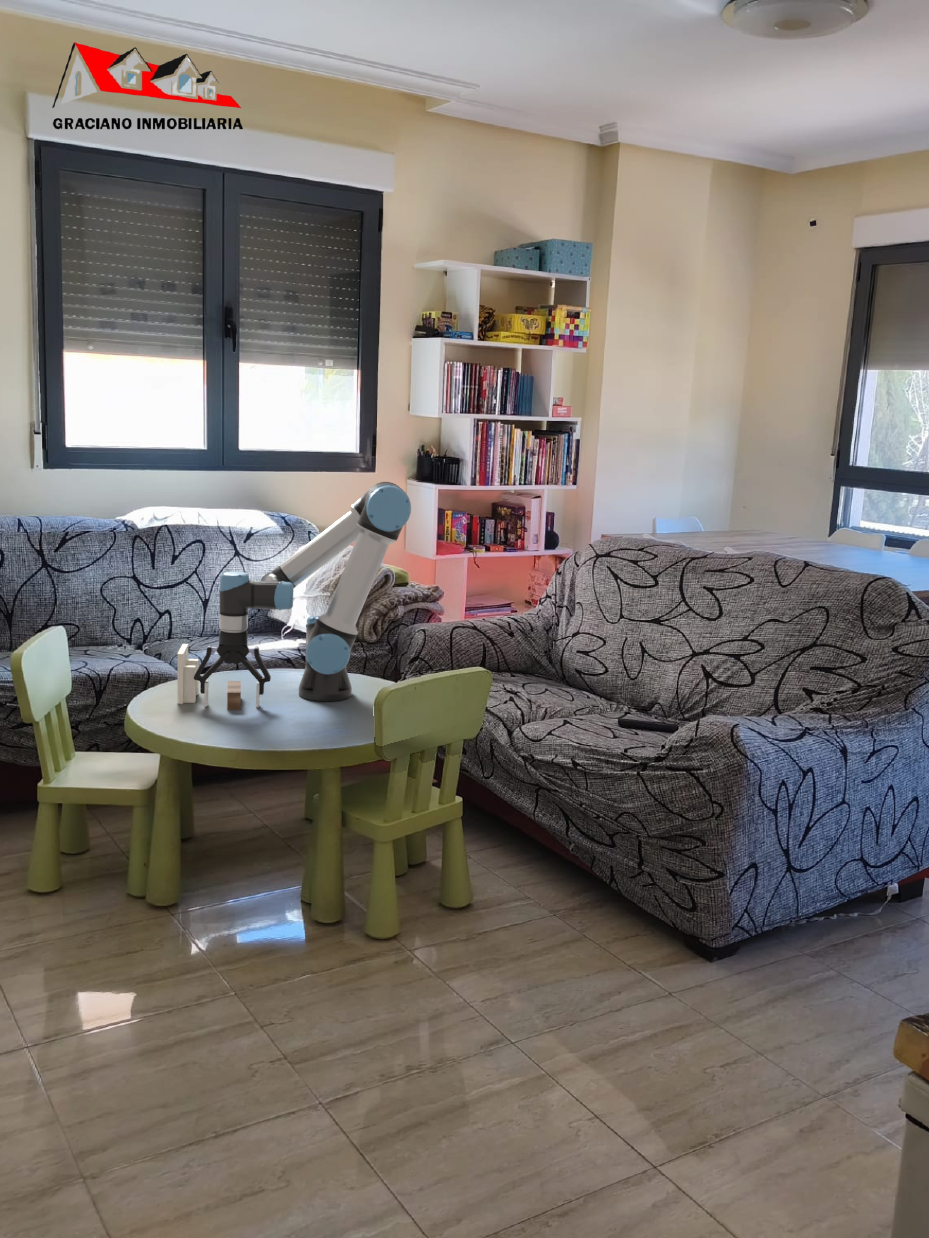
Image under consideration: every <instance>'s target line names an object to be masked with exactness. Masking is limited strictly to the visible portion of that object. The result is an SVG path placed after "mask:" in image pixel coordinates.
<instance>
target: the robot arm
mask: <svg viewBox="0 0 929 1238" xmlns="http://www.w3.org/2000/svg"><path fill="white" fill-rule="evenodd" d="M411 513H412V505H411V500H410V497H409V496H408V494H407V493H406V492H405V491H404V489H403V488H401V487H400V486H399V485H397V484H395V482H394V483H393V482H391V481H381V482H377V483H375V484H374V485H372V486H371V487H370V488H369V489H368V490H367V491H366V492H365V493H364V494H363V495H361V497H360V498H358V499H357V500H356V501H355V502H353V503H352V504H351V506H350V510H349V511H348V512H346V514H344V515H343V516H341V517H340V518H339V519H337V520H336V521H335V522H333V523H332V524H331V525H330V526H328V527H327V528H326V529H325V530H323V531H322V532H321V533H319V534H318V535H317V536H316V537H314V538H312V540H311V541H309V542H308V543H306V544H305V545H304V546H303V547H302V548H300V549H299V550H298V551H296V552H295V553H294V554H292V555H291V556H290V557H288V558H287V559H285V560H284V561H283V562H282V563H280V564H279V565H278V566H277V567H276V568H274V569H273V570H272V571H269V572H267V573H265V574H264V576H262V577H261V579H260V580H251V579H250V575H249V573H247V572H244V571H226V572H225V571H224V572H223V573H222V574H221V576H220V582H219V616H218V617H219V618H218V620H219V624H218V625H219V627H218V628H219V629H220V630H219V631H218V646H217V647H215V646H213V645H211V644H210V645H208V646H207V647H206V651H205V652H206V653H205V655H204V657H203V658H202V661H201V663H200V664H199V668H198V670H197V672H196V673H195V675H194V680H198V681H199V682H200V683H199V684H200V689H199V690H200V694H203V695H204V700H203V702H204V705H203V706H204V707H208V706H209V680H208V679H209V678H210V676H211V675H212V674H213V673H215V671H217V670H218V668H219V667H220V666H221V665H222V664H223V663H225V664H227V665H231V664H234V665H239V664H242V665H243V666H244V667H245V668H246V669H247V670H248V671H249V672H250V674H251V675H252V676H253V678H254V679H256V691H255V694H256V696H255V700H256V701H255V707H256V708H260V696H263V695H264V693H265V683H267V682H270V681H271V679H272V677H271V674H270V672H269V670H268V668H267V666H266V665H265V663H264V660H263V658H262V657H261V655H260V647H259V646H255V647H250V648H249V647H248V640H249V639H248V636H249V635H248V633H249V632H248V630H247V629H248V628H249V624H248V623H249V609H253V610H255V609H256V610H257V609H259V610H278V611H283V610H284V611H285V610H292V608H293V607H294V589H295V588H296V587H298V586H299V584H301V583H303V582H304V581H305V580H306V579H307V578H309V577H310V576H311V575H313V574H314V573H315V572H317V571H318V570H320V568H322V567H323V566H325V565H326V564H327V563H328V562H331V560H332V559H334V558H335V557H337V556H338V555H339V554H340V553H342V552H343V551H344V550H346V549H347V548H348V547H350V546H351V545H352V544H353V543H354V545H353V548H352V549H351V552H350V554H349V557H348V559H347V561H346V564H345V566H344V569H343V571H342V574H341V576H340V578H339V581H338V582H337V585H336V588H335V591H334V593H333V594H332V595H333V596H332V598H331V600H330V603H329V605H328V607H327V610H326V612H325V613H324V614H321V615H312V616H308V617H307V619H306V625H305V628H306V634H305V635H306V636H305V652H304V653H305V668H304V671H303V674H302V677H301V680H300V683H299V685H298V695H299V697H301V698H303V699H306V700H309V701H317V702H336V701H337V702H338V701H342V700H347V699H349V698H351V697H352V693H353V691H352V690H353V688H352V684H351V680H350V677H349V674H348V670H347V665H348V664H349V662H350V659H351V650H352V648H353V646H354V643H355V640H356V639H357V636H358V635H359V631H358V629H357V625H356V624H357V622H358V620H359V617H360V614H361V613H362V610H363V607H364V604H365V603H366V600H367V598H368V595H369V593H370V592H371V591H370V590H371V589H372V586H373V584H374V583H375V582H374V581H375V579H376V577H377V575H378V572H379V570H380V567H381V565H382V563H383V560H384V558H385V556H386V553H387V551H388V549H389V546H390V545H391V544H393V543H395V542H398V539H399V537H400V534H401V532H402V529H403V527H404V526H405V525H406V524H407V522H408V521H409V519H410V516H411ZM215 653H217V654H218V655H219V657H218V659H217V660H216V661H215V662H214V664H212V665H211V666H210V668H208V670H207V671H206V672H205V673H204V674H203V675H201V674H202V672H203V671H204V669H205V667H206V665H207V664H208V662H209V660H210V658H211V656H214V655H215ZM249 653H250V654H251V656H253V657H254V658H255V661H256V663H257V665H258V667H259V669H260V671H261V673H262V674H261V673H260V672H259V671H258V670H257V668H255V667H254V665H253V663H252V662H250V660H249V659H248V657H247V656H248V655H249ZM262 675H263V676H262Z"/></svg>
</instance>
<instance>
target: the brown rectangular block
mask: <svg viewBox="0 0 929 1238" xmlns="http://www.w3.org/2000/svg"><path fill="white" fill-rule="evenodd" d="M241 683H242V682H241V680H235V681H234V680H227V693H226V695H227V705H226V710H227V711H240V710H241V702H242V699H241V698H242V697H241V695H242V693H241V692H242V690H241V689H242V688H241V687H242V686H241V685H242V684H241Z"/></svg>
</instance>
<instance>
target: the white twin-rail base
mask: <svg viewBox="0 0 929 1238" xmlns="http://www.w3.org/2000/svg"><path fill="white" fill-rule="evenodd" d="M199 663H200V662H199V658H189V643H182V645H181V646H180V648H179V650H178V651H177V704H178V705H183V704H184V703H185V704H186V703H188V704H190V703H191V704H195V703H196V701H197V700H196V699H197V698H196V697H197V696H198V695H199V690H200V689H199V684H200V683H199V682H200V681H198V680H194V675H195V673H196V672H197V670H198V668H199V666H200V664H199Z"/></svg>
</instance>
